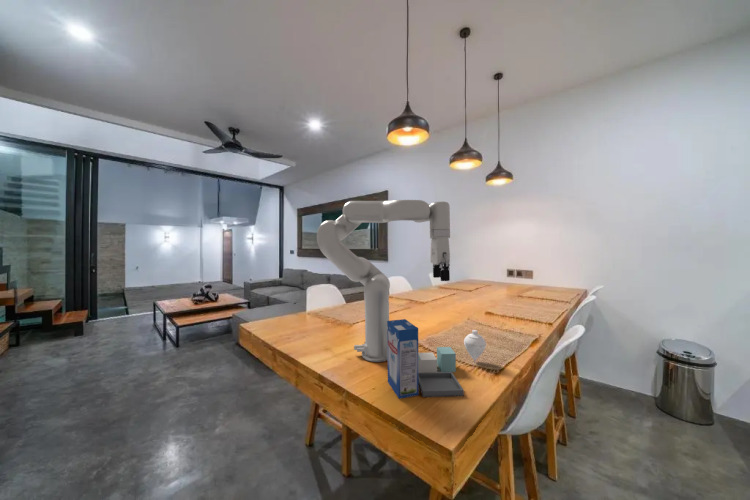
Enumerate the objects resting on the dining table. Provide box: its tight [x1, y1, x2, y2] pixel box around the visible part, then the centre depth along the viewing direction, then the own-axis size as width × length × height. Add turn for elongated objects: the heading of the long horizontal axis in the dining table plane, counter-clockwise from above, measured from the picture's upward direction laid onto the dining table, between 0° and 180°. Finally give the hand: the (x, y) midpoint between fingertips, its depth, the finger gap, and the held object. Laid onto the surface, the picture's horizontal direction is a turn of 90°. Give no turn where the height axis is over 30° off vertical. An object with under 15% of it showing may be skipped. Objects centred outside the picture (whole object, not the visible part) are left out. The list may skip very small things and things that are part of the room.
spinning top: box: [463, 329, 487, 363], centre depth 101 cm, size 8×8×12 cm
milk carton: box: [387, 318, 420, 400], centre depth 83 cm, size 10×6×20 cm, turn 16°
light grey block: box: [418, 352, 441, 373], centre depth 96 cm, size 9×6×5 cm, turn 92°
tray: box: [419, 371, 465, 398], centre depth 84 cm, size 12×11×2 cm
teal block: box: [436, 346, 457, 373], centre depth 96 cm, size 5×6×6 cm
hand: (441, 279), depth 104 cm, fingers open, 9 cm apart
